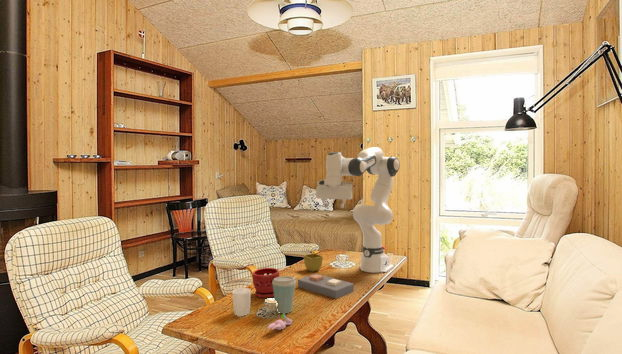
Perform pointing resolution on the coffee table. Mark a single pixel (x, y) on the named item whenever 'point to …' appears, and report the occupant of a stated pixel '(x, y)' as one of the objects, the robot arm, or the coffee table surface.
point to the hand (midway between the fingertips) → (333, 207)
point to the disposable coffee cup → (284, 292)
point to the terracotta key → (316, 277)
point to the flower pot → (313, 262)
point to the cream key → (334, 282)
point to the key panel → (324, 291)
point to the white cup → (241, 301)
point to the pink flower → (281, 323)
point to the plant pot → (264, 281)
